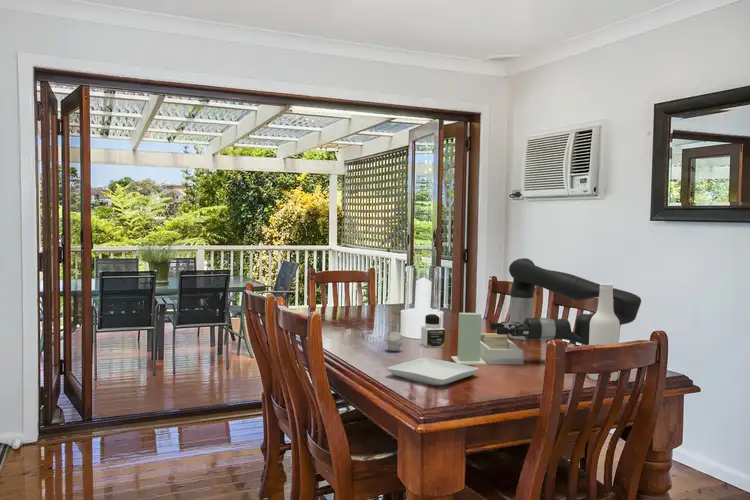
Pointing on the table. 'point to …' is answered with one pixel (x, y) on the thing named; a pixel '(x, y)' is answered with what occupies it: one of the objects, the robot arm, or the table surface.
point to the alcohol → (604, 323)
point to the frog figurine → (394, 341)
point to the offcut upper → (493, 338)
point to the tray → (502, 354)
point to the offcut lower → (496, 345)
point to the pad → (469, 361)
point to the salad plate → (432, 371)
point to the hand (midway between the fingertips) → (493, 328)
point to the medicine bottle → (432, 332)
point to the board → (469, 336)
